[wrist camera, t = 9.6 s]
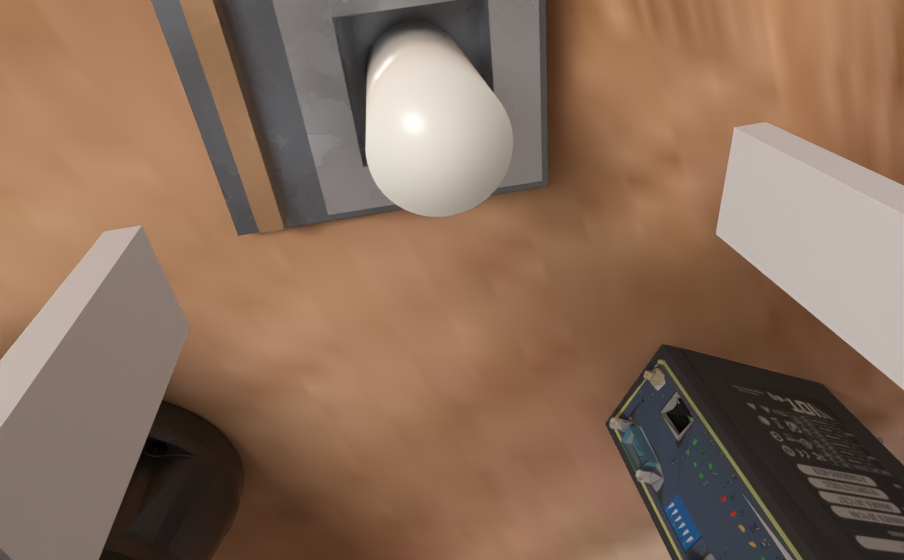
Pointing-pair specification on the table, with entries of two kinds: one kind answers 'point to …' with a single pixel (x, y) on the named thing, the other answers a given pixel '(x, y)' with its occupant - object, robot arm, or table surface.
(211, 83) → the jig
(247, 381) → the table surface
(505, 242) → the table surface
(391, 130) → the white rounded cylinder
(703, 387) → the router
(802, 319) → the table surface
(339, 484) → the table surface
